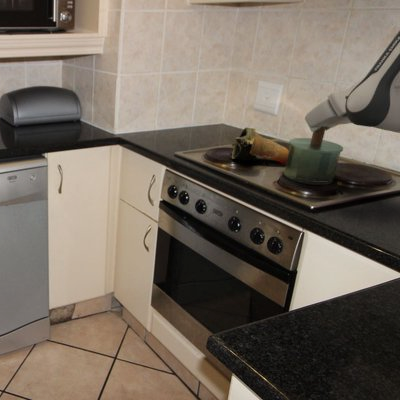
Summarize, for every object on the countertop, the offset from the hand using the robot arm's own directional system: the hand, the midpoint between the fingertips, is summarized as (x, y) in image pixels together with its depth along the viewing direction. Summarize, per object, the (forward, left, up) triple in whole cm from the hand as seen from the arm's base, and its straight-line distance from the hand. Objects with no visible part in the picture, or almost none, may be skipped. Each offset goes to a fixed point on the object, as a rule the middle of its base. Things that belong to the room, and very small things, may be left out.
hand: (317, 129), depth 135 cm
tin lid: (-1, 0, -5) cm, 5 cm away
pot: (+17, -2, -14) cm, 23 cm away
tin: (-1, 0, -14) cm, 14 cm away
